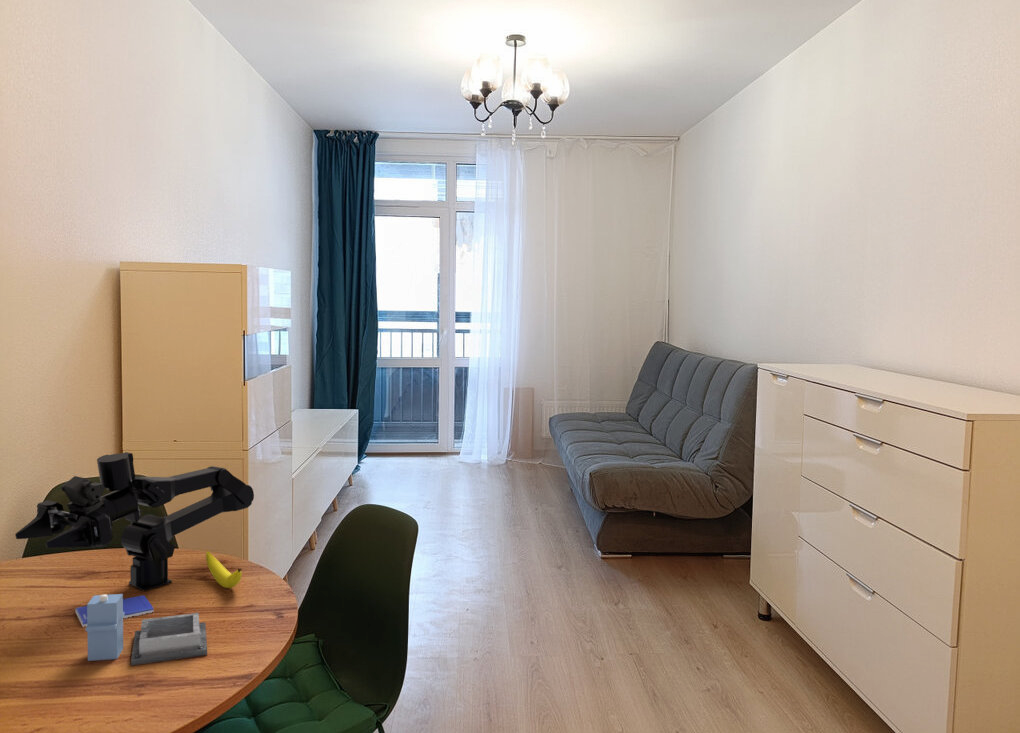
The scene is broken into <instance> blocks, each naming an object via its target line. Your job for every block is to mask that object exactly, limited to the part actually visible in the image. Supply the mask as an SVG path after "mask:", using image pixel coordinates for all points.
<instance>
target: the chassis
mask: <svg viewBox="0 0 1020 733" xmlns="http://www.w3.org/2000/svg"><path fill="white" fill-rule="evenodd" d="M199 614H200V612H195V613H186V614H185V613H184V614H178V615H169V616H162V617H160V616H159V617H153V618H145V619H141V624H140V626H141V627H140V630H135V631H134V638H133V644H132V652H131V660H130V661H131V663H130V666H132V667H133V666H137V665H144V664H145V665H146V664H151V663H159V662H160V663H161V662H167V661H174V660H175V661H176V660H180V659H187V658H188V659H189V658H196V657H202V656H203V657H204V656H208V642H207V628H206V627H207V626H206V625H207V624H206V622H205V621H203V622H200V615H199Z"/></svg>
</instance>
